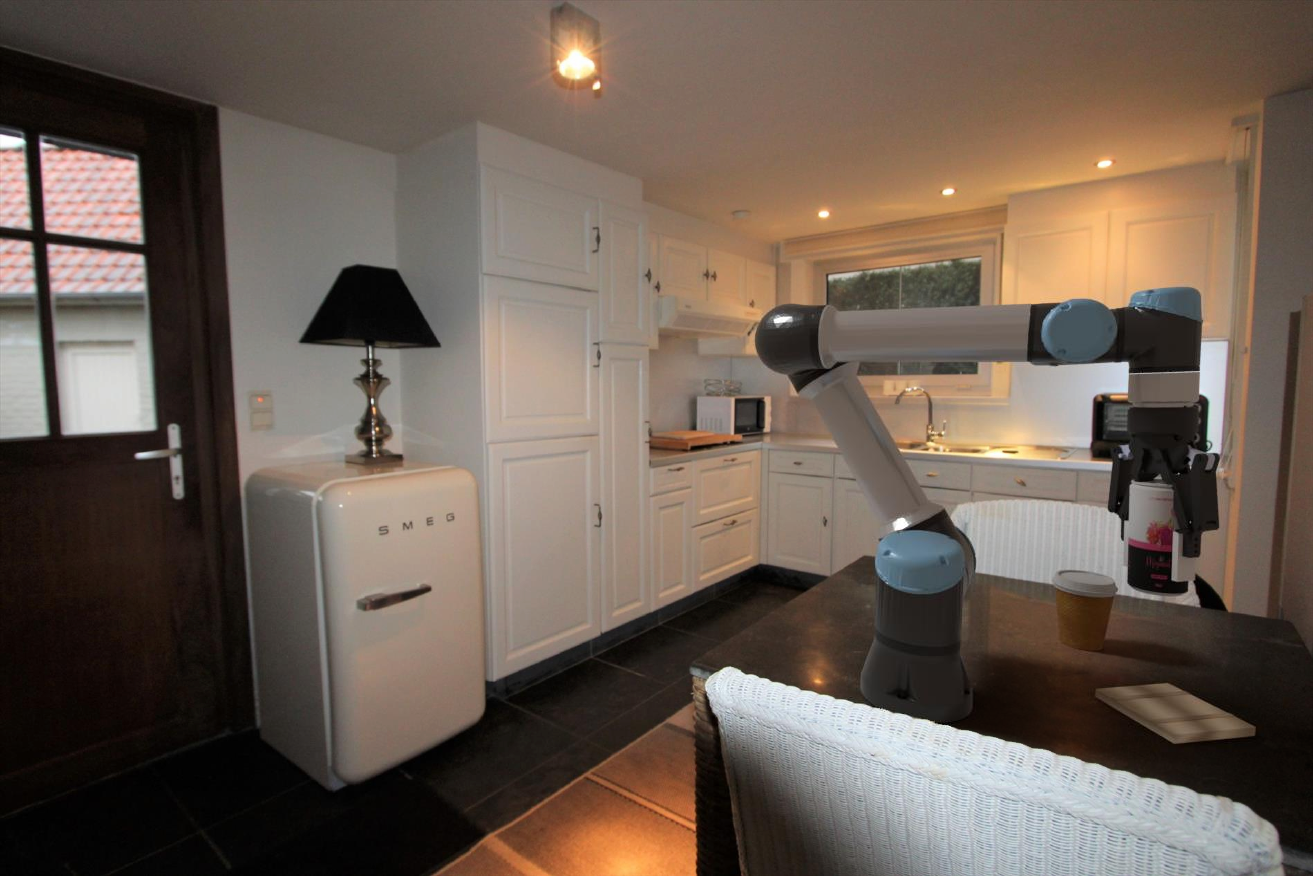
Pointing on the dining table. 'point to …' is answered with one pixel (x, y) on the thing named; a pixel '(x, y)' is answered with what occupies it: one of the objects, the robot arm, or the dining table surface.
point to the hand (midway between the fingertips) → (1157, 572)
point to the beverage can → (1152, 539)
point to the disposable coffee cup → (1083, 607)
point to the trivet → (1174, 713)
